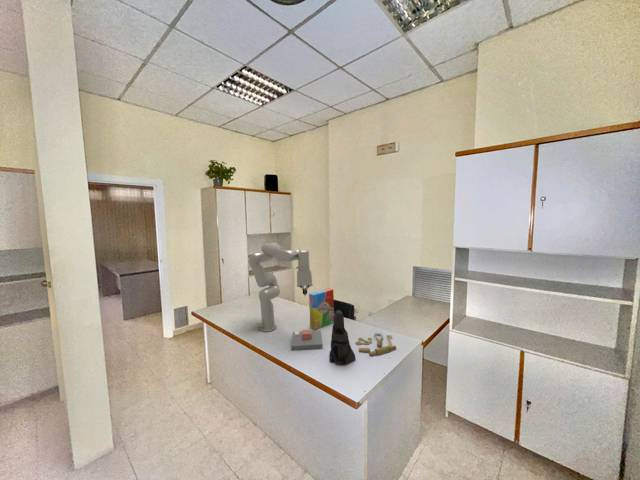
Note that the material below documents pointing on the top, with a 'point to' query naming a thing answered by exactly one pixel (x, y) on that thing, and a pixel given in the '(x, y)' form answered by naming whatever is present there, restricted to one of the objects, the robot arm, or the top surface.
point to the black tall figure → (340, 342)
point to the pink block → (306, 334)
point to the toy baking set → (379, 344)
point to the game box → (321, 308)
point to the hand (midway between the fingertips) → (305, 294)
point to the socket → (306, 341)
